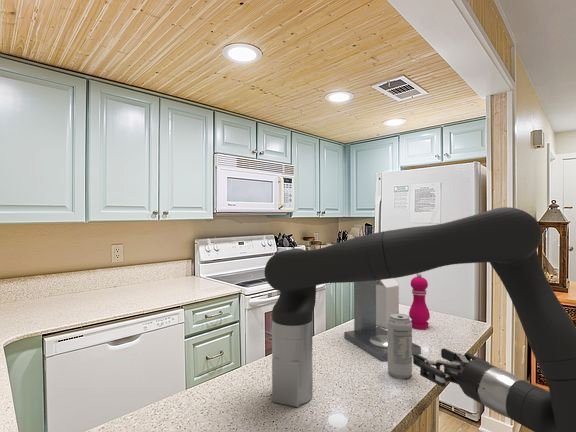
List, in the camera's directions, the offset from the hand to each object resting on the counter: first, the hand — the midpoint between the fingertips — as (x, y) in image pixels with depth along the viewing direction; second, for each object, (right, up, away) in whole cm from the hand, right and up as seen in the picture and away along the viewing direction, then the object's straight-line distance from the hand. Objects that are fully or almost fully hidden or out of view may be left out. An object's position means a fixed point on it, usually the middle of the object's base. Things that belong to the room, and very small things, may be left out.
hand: (428, 355), depth 79 cm
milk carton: (+4, -9, +49) cm, 50 cm away
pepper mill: (+16, -9, +46) cm, 50 cm away
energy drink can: (-4, -9, +9) cm, 13 cm away
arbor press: (0, -9, +30) cm, 31 cm away
